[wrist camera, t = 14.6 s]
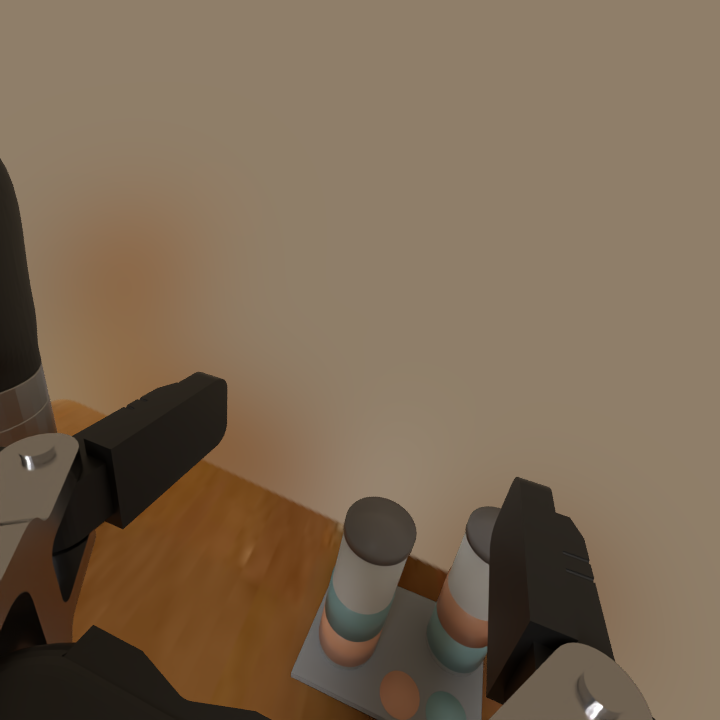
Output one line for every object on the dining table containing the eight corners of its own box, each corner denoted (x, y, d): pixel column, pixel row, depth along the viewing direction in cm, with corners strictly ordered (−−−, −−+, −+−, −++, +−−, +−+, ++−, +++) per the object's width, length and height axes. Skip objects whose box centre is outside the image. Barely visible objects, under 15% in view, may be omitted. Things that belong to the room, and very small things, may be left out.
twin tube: (420, 661, 31) (466, 548, 25) (429, 605, 35) (470, 498, 30) (481, 688, 30) (542, 576, 24) (483, 628, 34) (536, 520, 29)
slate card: (290, 676, 29) (291, 671, 29) (338, 565, 38) (339, 561, 38) (477, 769, 26) (479, 765, 26) (482, 626, 35) (484, 621, 35)
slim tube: (307, 652, 30) (333, 536, 24) (332, 597, 34) (360, 487, 29) (364, 683, 29) (406, 570, 23) (383, 622, 33) (423, 513, 27)
